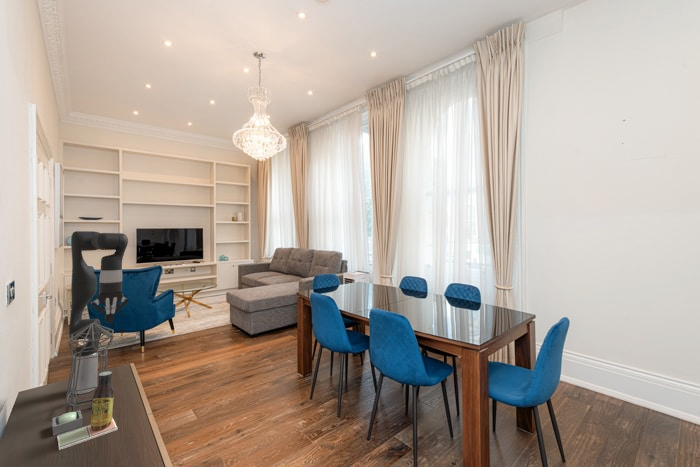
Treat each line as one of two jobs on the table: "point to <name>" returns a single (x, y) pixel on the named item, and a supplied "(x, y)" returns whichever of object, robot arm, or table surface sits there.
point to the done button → (67, 417)
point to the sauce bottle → (102, 402)
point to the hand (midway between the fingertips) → (109, 322)
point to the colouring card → (83, 435)
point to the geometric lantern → (73, 366)
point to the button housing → (66, 424)
